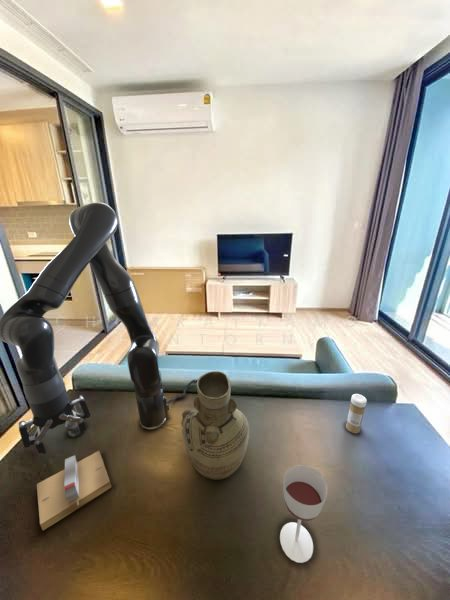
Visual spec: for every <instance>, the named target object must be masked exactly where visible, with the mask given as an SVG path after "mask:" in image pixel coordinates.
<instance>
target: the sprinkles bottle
mask: <svg viewBox="0 0 450 600" xmlns="http://www.w3.org/2000/svg"><path fill="white" fill-rule="evenodd" d="M367 403H368V400H367V398H366V397H365V396H364V395H362V394H360V393H354V394H352V395H351V398H350V404H349V408H348V409H349V410H348V414H347V418H346V419H347V420H346V424H345V428H346V429H347V431H348V432H350V433H352V434H359V433H360V432H361V426H362V423H363V419H364V413H365V409H366V406H367Z"/></svg>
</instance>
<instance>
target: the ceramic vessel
mask: <svg viewBox="0 0 450 600" xmlns="http://www.w3.org/2000/svg"><path fill="white" fill-rule="evenodd" d="M196 380H197V382H196V391H197V392H196V393H197V396H196V397H195V398H194V400H193V408H194V409H193V410H189V409H188V410H183V412H182V413H181V417H182V418H181V419H182V420H181V427H182V438H183V442H184V446H185V449H186V453H187V456H188V457H189V461H190V462H191V465H192V466H193V468H194V469H195V470H196V471H197V472H198V474H200V475H201V476H203V477H204V478H207V479H210V480H214V481H215V480H216V481H218V480H224V479H227V478H229V477H231V475H233V474H234V473H235V472H237V470H238V469H239V468H240V466H241V464H242V462H243V460H244V457H245V455H246V453H247V448H248V445H249V438H250V425H249V421H248V419H247V417H246V416H245V414H244V412H242V411H241V410H240V409H238V407H237V402H236V400H235V399H233V398H230V397H231V388H232V387H231V383H230V379H229V377H228V375H227V374H226V373H225V372H222V371H219V370H212V371H207V372H205V373H203V374H202V375H200V376H199V377H198V378H197V379H196Z"/></svg>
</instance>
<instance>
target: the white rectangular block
mask: <svg viewBox="0 0 450 600" xmlns="http://www.w3.org/2000/svg"><path fill="white" fill-rule="evenodd" d="M77 462H78V460H77V457H76V455H72V456H69V457H67V458H65V459H64V469H65V479H64V493H65V495H66V498H67V501H68V502H70V501H72V500H74V499H76V498H78V497H79V481H78V463H77Z"/></svg>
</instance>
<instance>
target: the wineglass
mask: <svg viewBox="0 0 450 600" xmlns="http://www.w3.org/2000/svg"><path fill="white" fill-rule="evenodd" d="M282 489H283V498H284V502H285V506H286V508H287V510H288V512H289V513H290V514H291V516H293V517H294V518H296V519H297V521H296V522H293V521H290V522H287V523H285V524H284V525H283V526H282V528H281V529H280V534H279V541H280V545H281V548H282V551H283V552H284V554H285V555H286V557H288V559H290V560H291V561H293V562H295V563H301V564H303V563H306V562H308V561H309V560H311V558H312V556H313V553H314V543H313V538H312V536H311V534H310V533H309V530H307V529H306V528H305V527H304V526H303V525H302V521H305V522H309V521H312V520H314V519H316V518H317V517H318V516H319V515H320V513H321V512H322V510H323V507H324V505H325V503H326V499H327V496H328V485H327V482H326V480H325V478H324V477H323V475H322V474H321V473H320V472H319V471H318V470H317V469H315V468H313V467H312V466H308V465H305V464H296V465H293V466H290V467H289V468H288V469H287V470H286V471H285V473H284V475H283V484H282Z"/></svg>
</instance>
